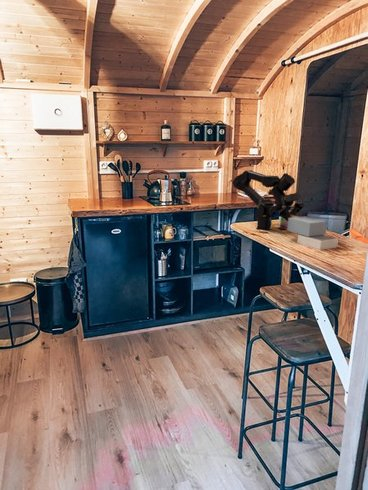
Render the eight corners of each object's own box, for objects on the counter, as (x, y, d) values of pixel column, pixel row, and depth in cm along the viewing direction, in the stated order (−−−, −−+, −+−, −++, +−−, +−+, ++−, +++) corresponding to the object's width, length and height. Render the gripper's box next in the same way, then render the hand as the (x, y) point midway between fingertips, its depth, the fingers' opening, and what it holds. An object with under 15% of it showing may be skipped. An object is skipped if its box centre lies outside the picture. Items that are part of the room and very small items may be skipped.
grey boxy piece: (279, 228, 185) (280, 215, 183) (296, 226, 190) (297, 214, 189) (308, 236, 170) (310, 222, 168) (325, 234, 175) (327, 220, 174)
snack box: (290, 229, 204) (293, 201, 200) (279, 228, 205) (282, 200, 201) (288, 221, 224) (290, 195, 220) (278, 221, 225) (280, 195, 221)
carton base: (297, 242, 176) (298, 234, 175) (314, 240, 181) (315, 232, 180) (319, 249, 165) (321, 240, 164) (337, 247, 171) (338, 238, 170)
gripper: (275, 187, 179) (290, 214, 173) (303, 186, 188) (318, 212, 182) (262, 201, 188) (276, 228, 182) (290, 199, 197) (304, 225, 191)
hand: (294, 223), depth 184 cm, fingers closed on grey boxy piece, 2 cm apart
